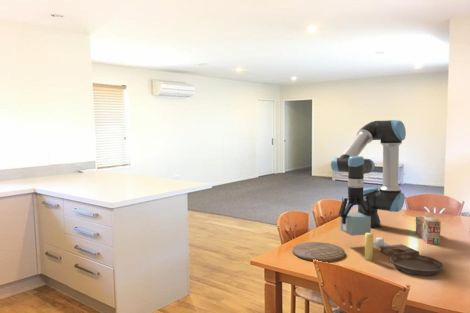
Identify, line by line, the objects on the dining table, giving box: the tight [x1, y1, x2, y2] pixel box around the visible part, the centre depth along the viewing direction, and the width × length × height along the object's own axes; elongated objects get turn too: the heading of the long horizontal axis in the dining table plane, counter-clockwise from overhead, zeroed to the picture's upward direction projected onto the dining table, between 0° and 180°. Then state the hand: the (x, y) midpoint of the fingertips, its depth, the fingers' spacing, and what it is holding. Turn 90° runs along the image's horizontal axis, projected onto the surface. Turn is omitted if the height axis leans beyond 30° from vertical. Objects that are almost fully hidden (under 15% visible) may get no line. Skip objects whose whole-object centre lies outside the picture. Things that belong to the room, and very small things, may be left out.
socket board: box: [379, 243, 420, 257], centre depth 178 cm, size 12×12×2 cm
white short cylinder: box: [373, 237, 390, 249], centre depth 191 cm, size 8×8×4 cm
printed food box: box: [415, 214, 442, 245], centre depth 203 cm, size 21×6×12 cm, turn 169°
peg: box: [364, 232, 374, 262], centre depth 171 cm, size 4×4×12 cm
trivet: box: [292, 241, 346, 263], centre depth 182 cm, size 25×25×2 cm
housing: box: [339, 211, 372, 236], centre depth 190 cm, size 11×11×9 cm
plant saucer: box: [389, 254, 444, 276], centre depth 160 cm, size 21×21×3 cm
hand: (355, 229), depth 190 cm, fingers closed on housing, 11 cm apart
